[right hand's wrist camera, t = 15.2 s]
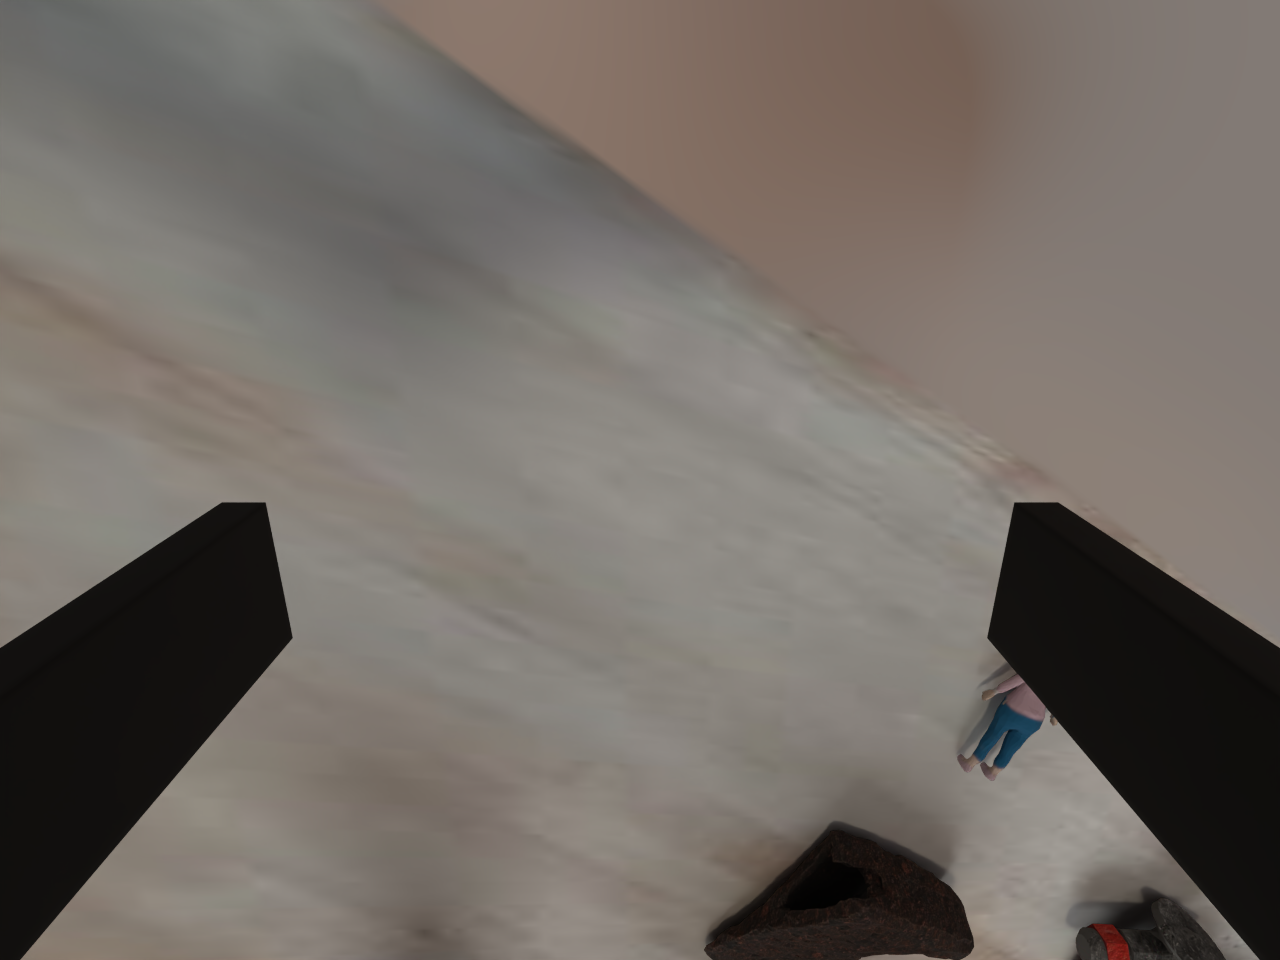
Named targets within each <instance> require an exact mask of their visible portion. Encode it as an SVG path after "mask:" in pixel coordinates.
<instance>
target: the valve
mask: <svg viewBox="0 0 1280 960" xmlns="http://www.w3.org/2000/svg"><path fill="white" fill-rule="evenodd" d="M1151 909H1152V914H1153V917H1154V919H1155V921H1156V923H1157V926H1156V928H1154V929H1152V930H1135V929H1116V928H1115V927H1114V926H1113V925H1110V924H1091V925H1089V926H1088V927H1082V928H1081V929H1080V931H1079V933H1078V935H1077V937H1076V947H1077V951H1078V953H1079V956H1080V957H1081V959H1082V960H1226V959H1225V958H1224V956H1223V954H1222V953H1221V951H1220V950H1219V949H1218V947H1217V946H1216V944H1215V943H1214V942H1213V941H1212V939H1211V938H1210V937H1209V935H1208V934H1207V933H1206V932H1205V931H1204V930H1203V929H1202V927H1201V926H1200V925H1199V924H1198V923H1197V922H1196V921H1195V920H1194V919H1193V918H1192V917H1191V916H1190V915H1189V914H1188V913H1187V912H1185V911H1184V910H1183V909H1182V908H1181V907H1179V906H1178V905H1177V904H1175V903H1174V902H1172V901H1170V900H1168V899H1165V898H1161V899H1158V900H1157V901H1155V902H1153V903H1152V905H1151Z"/></svg>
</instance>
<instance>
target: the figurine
mask: <svg viewBox="0 0 1280 960" xmlns="http://www.w3.org/2000/svg"><path fill="white" fill-rule="evenodd" d="M1014 687H1016V689H1014V690H1013V691H1012V692H1011V693H1010V694H1008V695H1007V696H1006V697H1005V698H1004V700H1003V701H1002V703H1001V704H1000V706H999V707H998V709H997V711H996V713H995V716H994V719H993V721H992V722H991V724H990V726H989V728H988V730H987V731H986V733H985V734H984V735H983V737H982V738H981V740H980V742H979V745H978V746H977V748H976V750H975V751H974V753H973V754H972V756H971V757H970V758H969V759H966V758H965V757H964V756H963V755H961V754H960V755H958V757H957V759H958V761H959V764H960V765H961V767H962V768H963V769H964V771H965V772H970V771H971V770H972V768H973V767H974V765H976V764H978V763H980V762H981V761H982V760H983V759H984V758H985V757H986V755H987V753H988V752H989V751H990V750H991V748H992V747H993V746H994V745H995V744H996V743H997V741H998V740H999V739H1000V737H1001V736H1002V734H1003V733H1004V732H1005V731H1007V730H1009V731H1008V732H1007V734H1006V736H1005V738H1004V741H1003V744H1002V747H1001V750H1000V752H999V754H998V755H997V757H996V758H995V760H994V763H993V766H992V767H989V766H988V765H987V764H986V763H984V762H983V763H981V765H980V766H981V769H982V771H983V773H984V775H985V776H986V777H987V778H988V779H989V780H991V781H993V780H995V777H996V776H997V774H998V773H999V772H1000V771H1001V770H1002V769H1004V768H1005V767H1006V765H1007V764H1008V763H1009V761H1010V760H1011V758H1012V756H1013V754H1014V753H1015V752H1016V751H1017V750H1018V749H1019V748H1020V747H1021V746H1022V745H1023V743H1024V742H1025V741H1026V740H1027V739H1028V738H1029V737H1030V736H1031V735H1032V734H1033V733H1035V732H1036V731H1037V730H1039V728H1040V726H1041V724H1042V722H1043V720H1044V718H1045V708H1046V707H1045V705H1044V704H1043V703H1042V702H1041V701H1040V700H1039V698H1038V697H1037V696H1036V695H1035V694H1034V692H1033V691H1032V690H1031V689H1030V688H1029V687H1028V685H1027V684H1026V683H1025V682H1024V681H1023V679H1022V678H1021V677H1020V676H1019V675H1018V674H1016V675H1015V676H1013V677H1012V678H1010V679H1008V680H1006V681H1004V682H1002V683H1001V684H999V685H998V687H997V688H996V689H995V690H987V691H984V692H983V695H982V699H983V700H988V699H990V698H991V697H993V696H995V695H996V694H998V693H1002V692H1006V691H1008V690H1010V689H1012V688H1014ZM1050 718H1051V719H1050V722H1051V724H1052V725H1054V726H1055V725H1056V724H1057V723H1058V721H1057V720H1056V718H1055V717H1054V716H1053V715H1052V714H1051V716H1050Z"/></svg>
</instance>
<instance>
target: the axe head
mask: <svg viewBox="0 0 1280 960" xmlns="http://www.w3.org/2000/svg"><path fill="white" fill-rule="evenodd" d="M973 948H974V941H973V936H972V933H971V930H970V927H969V924H968V921H967V917H966V913H965V909H964V906H963V904H962V902H961V900H960V899H959V897H958V896H957V895H956V893H955V892H954V891H953V890H952V889H951V887H950V886H948V885H947V884H945V883H944V882H942V881H941V880H939V879H937V878H936V877H935V876H934V875H933V873H931V872H928V871H926V870H924V869H922V868H920V867H919V866H917V865H916V864H915V863H914V862H912V861H910V860H909V859H907V858H905V857H903V856H902V855H896V856H894V855H893V854H891V853H889V852H887V851H884V850H883V849H882V848H881V847H880V846H879V845H878V844H877V843H875V842H873V841H870V840H866V839H861V838H857V837H854V836H852V835H849V834H847V833H845V832H844V831H841V830H835V831H830V834H829V836H828V837H827V838H826V839H825V840H824V841H823V842H822V843H821V844H820V845H818V846H817V847H816V849H814V850H813V851H812V852H811V853H810V854H809V856H808V857H807V858H806V859H805V860H804V862H803V863H802V864H801V865H800V866H799V867H798V868H797V870H796V871H795V872H794V873H793V874H792V875H791V876H790V878H789V879H788V880H787V881H786V882H785V883H784V884H783V885H782V886H781V887H780V888H778V889H777V890H776V892H775V893H774V894H773V895H772V896H771V897H770V898H769V899H768V900H767V902H766V903H765V904H764V905H763V906H760V907H759V908H758V909H756V910H755V911H754V912H753V913H751V914H750V915H749V916H748V917H746V918H745V919H744V920H743V921H742V922H741V923H740V924H739V925H736V926H732V927H730V928H728V929H727V930H725V931H724V932H722V933H721V934H720V935H719V936H718V937H717V938H716V940H715V941H713V942H712V943H710V944H708V945H707V946H706V947H705V949H704V951H705V952H706V954H707V955H708V956H709V957H710V958H711V959H712V960H859V959H861V957H867V956H872V955H883V954H889V955H907V954H924V955H926V956H928V957H934V958H941V959H952V960H960V959H963V958H965V957H966V956H968V955H969V954H970V953H971V951H972V949H973Z"/></svg>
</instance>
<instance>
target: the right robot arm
mask: <svg viewBox="0 0 1280 960" xmlns="http://www.w3.org/2000/svg"><path fill="white" fill-rule="evenodd" d="M292 638H293V637H292V632H291V627H290V622H289V617H288V612H287V607H286V602H285V597H284V592H283V587H282V582H281V577H280V572H279V567H278V562H277V557H276V552H275V547H274V542H273V537H272V532H271V527H270V522H269V517H268V512H267V507H266V503H220V504H219V505H217V506H216V507H214V508H213V509H211V510H210V511H208V512H207V513H205V514H204V515H202V516H201V517H199V518H198V519H196V520H194V521H193V522H191V523H190V524H188V525H187V526H185V527H184V528H182V529H181V530H179V531H178V532H176V533H175V534H173V535H172V536H170V537H169V538H167V539H166V540H164V541H163V542H161V543H159V544H158V545H156V546H155V547H153V548H152V549H150V550H149V551H147V552H146V553H144V554H143V555H141V556H140V557H138V558H137V559H135V560H134V561H132V562H131V563H129V564H128V565H126V566H124V567H123V568H121V569H120V570H118V571H117V572H115V573H114V574H112V575H111V576H109V577H108V578H106V579H105V580H103V581H102V582H100V583H99V584H97V585H96V586H94V587H93V588H91V589H89V590H88V591H86V592H85V593H83V594H82V595H80V596H79V597H77V598H76V599H74V600H73V601H71V602H70V603H68V604H67V605H65V606H64V607H62V608H61V609H59V610H58V611H56V612H54V613H53V614H51V615H50V616H48V617H47V618H45V619H44V620H42V621H41V622H39V623H38V624H36V625H35V626H33V627H32V628H30V629H29V630H27V631H26V632H24V633H23V634H21V635H19V636H18V637H16V638H15V639H13V640H12V641H10V642H9V643H7V644H6V645H4V646H3V647H1V648H0V960H20V959H21V958H22V957H23V956H24V955H25V954H26V952H27V951H28V950H29V949H30V948H31V946H32V945H33V944H34V943H35V942H36V941H37V939H38V938H39V937H40V936H41V935H42V933H43V932H44V931H45V930H46V929H47V928H48V926H49V925H50V924H51V923H52V922H53V920H54V919H55V918H56V917H57V916H58V915H59V913H60V912H61V911H62V910H63V909H64V907H65V906H66V905H67V904H68V903H69V902H70V900H71V899H72V898H73V897H74V896H75V894H76V893H77V892H78V891H79V890H80V889H81V887H82V886H83V885H84V884H85V883H86V881H87V880H88V879H89V878H90V877H91V876H92V874H93V873H94V872H95V871H96V870H97V868H98V867H99V866H100V865H101V864H102V863H103V861H104V860H105V859H106V858H107V857H108V855H109V854H110V853H111V852H112V851H113V850H114V848H115V847H116V846H117V845H118V844H119V842H120V841H121V840H122V839H123V838H124V837H125V835H126V834H127V833H128V832H129V831H130V829H131V828H132V827H133V826H134V825H135V824H136V822H137V821H138V820H139V819H140V818H141V816H142V815H143V814H144V813H145V812H146V811H147V809H148V808H149V807H150V806H151V805H152V804H153V802H154V801H155V800H156V799H157V798H158V796H159V795H160V794H161V793H162V792H163V791H164V789H165V788H166V787H167V786H168V785H169V783H170V782H171V781H172V780H173V779H174V778H175V776H176V775H177V774H178V773H179V772H180V770H181V769H182V768H183V767H184V766H185V765H186V763H187V762H188V761H189V760H190V759H191V757H192V756H193V755H194V754H195V753H196V752H197V750H198V749H199V748H200V747H201V746H202V744H203V743H204V742H205V741H206V740H207V739H208V737H209V736H210V735H211V734H212V733H213V731H214V730H215V729H216V728H217V727H218V726H219V724H220V723H221V722H222V721H223V720H224V718H225V717H226V716H227V715H228V714H229V713H230V711H231V710H232V709H233V708H234V707H235V705H236V704H237V703H238V702H239V701H240V700H241V698H242V697H243V696H244V695H245V694H246V692H247V691H248V690H249V689H250V688H251V687H252V685H253V684H254V683H255V682H256V681H257V679H258V678H259V677H260V676H261V675H262V674H263V672H264V671H265V670H266V669H267V668H268V667H269V665H270V664H271V663H272V662H273V661H274V659H275V658H276V657H277V656H278V655H279V654H280V652H281V651H282V650H283V649H284V648H285V646H286V645H287V644H288V643H289V642H290V641H291V639H292ZM987 638H988V639H989V641H990V642H991V643H992V644H993V645H994V646H995V648H996V649H997V650H998V651H999V652H1000V654H1001V655H1002V656H1003V657H1004V658H1005V659H1006V661H1007V662H1008V663H1009V664H1010V665H1011V667H1012V668H1013V669H1014V670H1015V671H1016V672H1017V674H1018V675H1019V676H1020V677H1021V678H1022V679H1023V681H1024V682H1025V683H1026V684H1027V685H1028V687H1029V688H1030V689H1031V690H1032V691H1033V692H1034V694H1035V695H1036V696H1037V697H1038V698H1039V700H1040V701H1041V702H1042V703H1043V704H1044V705H1045V707H1046V708H1047V709H1048V710H1049V711H1050V713H1051V714H1052V715H1053V716H1054V717H1055V718H1056V720H1057V721H1058V722H1059V723H1060V724H1061V726H1062V727H1063V728H1064V729H1065V730H1066V731H1067V733H1068V734H1069V735H1070V736H1071V737H1072V739H1073V740H1074V741H1075V742H1076V743H1077V744H1078V746H1079V747H1080V748H1081V749H1082V750H1083V752H1084V753H1085V754H1086V755H1087V756H1088V757H1089V759H1090V760H1091V761H1092V762H1093V763H1094V765H1095V766H1096V767H1097V768H1098V769H1099V770H1100V772H1101V773H1102V774H1103V775H1104V776H1105V778H1106V779H1107V780H1108V781H1109V782H1110V783H1111V785H1112V786H1113V787H1114V788H1115V789H1116V791H1117V792H1118V793H1119V794H1120V795H1121V796H1122V798H1123V799H1124V800H1125V801H1126V802H1127V804H1128V805H1129V806H1130V807H1131V808H1132V809H1133V811H1134V812H1135V813H1136V814H1137V815H1138V816H1139V818H1140V819H1141V820H1142V821H1143V822H1144V824H1145V825H1146V826H1147V827H1148V828H1149V829H1150V831H1151V832H1152V833H1153V834H1154V835H1155V837H1156V838H1157V839H1158V840H1159V841H1160V842H1161V844H1162V845H1163V846H1164V847H1165V848H1166V850H1167V851H1168V852H1169V853H1170V854H1171V855H1172V857H1173V858H1174V859H1175V860H1176V861H1177V863H1178V864H1179V865H1180V866H1181V867H1182V868H1183V870H1184V871H1185V872H1186V873H1187V874H1188V876H1189V877H1190V878H1191V879H1192V880H1193V881H1194V883H1195V884H1196V885H1197V886H1198V887H1199V889H1200V890H1201V891H1202V892H1203V893H1204V894H1205V896H1206V897H1207V898H1208V899H1209V900H1210V902H1211V903H1212V904H1213V905H1214V906H1215V907H1216V909H1217V910H1218V911H1219V912H1220V913H1221V915H1222V916H1223V917H1224V918H1225V919H1226V920H1227V922H1228V923H1229V924H1230V925H1231V926H1232V928H1233V929H1234V930H1235V931H1236V932H1237V933H1238V935H1239V936H1240V937H1241V938H1242V939H1243V941H1244V942H1245V943H1246V944H1247V945H1248V946H1249V948H1250V949H1251V950H1252V951H1253V952H1254V954H1255V955H1256V956H1257V957H1258V958H1259V959H1260V960H1280V648H1279V647H1277V646H1276V645H1274V644H1273V643H1271V642H1270V641H1268V640H1267V639H1265V638H1264V637H1262V636H1261V635H1259V634H1257V633H1256V632H1254V631H1253V630H1251V629H1250V628H1248V627H1247V626H1245V625H1244V624H1242V623H1241V622H1239V621H1238V620H1236V619H1235V618H1233V617H1232V616H1230V615H1229V614H1227V613H1226V612H1224V611H1222V610H1221V609H1219V608H1218V607H1216V606H1215V605H1213V604H1212V603H1210V602H1209V601H1207V600H1206V599H1204V598H1203V597H1201V596H1200V595H1198V594H1197V593H1195V592H1194V591H1192V590H1191V589H1189V588H1187V587H1186V586H1184V585H1183V584H1181V583H1180V582H1178V581H1177V580H1175V579H1174V578H1172V577H1171V576H1169V575H1168V574H1166V573H1165V572H1163V571H1162V570H1160V569H1159V568H1157V567H1156V566H1154V565H1152V564H1151V563H1149V562H1148V561H1146V560H1145V559H1143V558H1142V557H1140V556H1139V555H1137V554H1136V553H1134V552H1133V551H1131V550H1130V549H1128V548H1127V547H1125V546H1124V545H1122V544H1121V543H1119V542H1117V541H1116V540H1114V539H1113V538H1111V537H1110V536H1108V535H1107V534H1105V533H1104V532H1102V531H1101V530H1099V529H1098V528H1096V527H1095V526H1093V525H1092V524H1090V523H1089V522H1087V521H1086V520H1084V519H1082V518H1081V517H1079V516H1078V515H1076V514H1075V513H1073V512H1072V511H1070V510H1069V509H1067V508H1066V507H1064V506H1063V505H1061V504H1060V503H1014V507H1013V512H1012V517H1011V522H1010V527H1009V532H1008V537H1007V542H1006V547H1005V552H1004V557H1003V562H1002V567H1001V572H1000V577H999V582H998V587H997V592H996V597H995V602H994V607H993V612H992V617H991V622H990V627H989V632H988V637H987Z"/></svg>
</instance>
